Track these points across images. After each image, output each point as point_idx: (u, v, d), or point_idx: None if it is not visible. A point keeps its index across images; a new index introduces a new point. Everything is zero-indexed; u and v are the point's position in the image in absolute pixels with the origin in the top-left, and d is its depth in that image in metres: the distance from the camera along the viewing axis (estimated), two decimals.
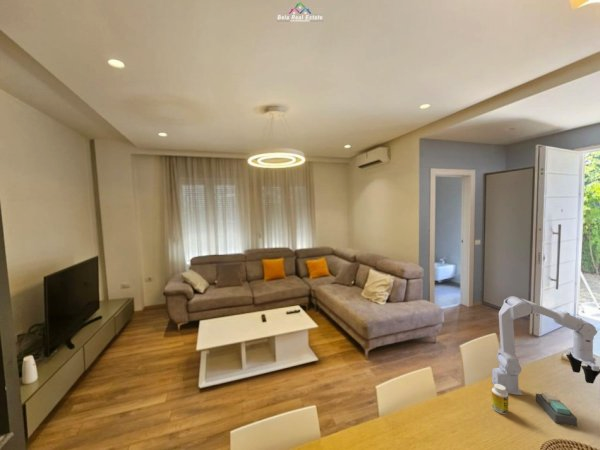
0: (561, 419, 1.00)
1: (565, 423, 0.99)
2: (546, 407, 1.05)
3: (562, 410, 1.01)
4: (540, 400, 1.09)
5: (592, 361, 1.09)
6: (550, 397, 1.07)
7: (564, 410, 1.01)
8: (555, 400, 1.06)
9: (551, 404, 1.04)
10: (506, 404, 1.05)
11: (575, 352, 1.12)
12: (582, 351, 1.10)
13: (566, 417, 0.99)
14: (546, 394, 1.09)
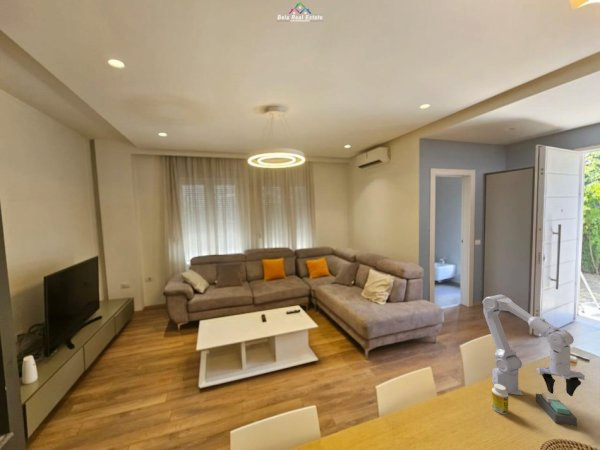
0: (561, 419, 1.00)
1: (565, 423, 0.99)
2: (546, 407, 1.05)
3: (562, 410, 1.01)
4: (540, 400, 1.09)
5: (554, 373, 1.01)
6: (550, 397, 1.07)
7: (564, 410, 1.01)
8: (555, 400, 1.06)
9: (551, 404, 1.04)
10: (506, 404, 1.05)
11: None
12: None
13: (566, 417, 0.99)
14: (546, 394, 1.09)
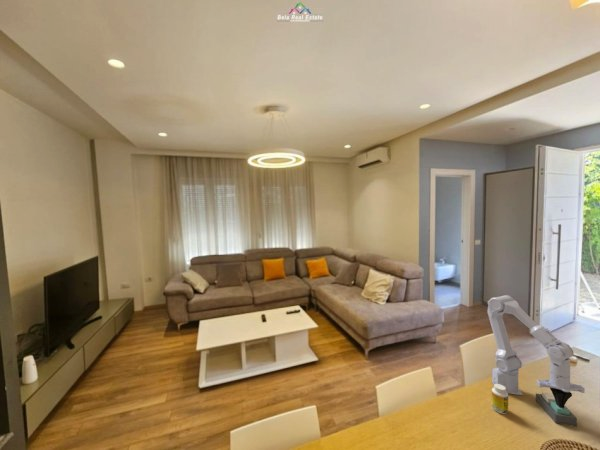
0: (561, 419, 1.00)
1: (565, 423, 0.99)
2: (546, 407, 1.05)
3: (562, 411, 1.01)
4: (540, 400, 1.09)
5: (554, 386, 1.01)
6: (550, 397, 1.07)
7: (564, 411, 1.01)
8: None
9: (551, 404, 1.04)
10: (506, 404, 1.05)
11: None
12: None
13: (566, 417, 0.99)
14: (546, 394, 1.09)
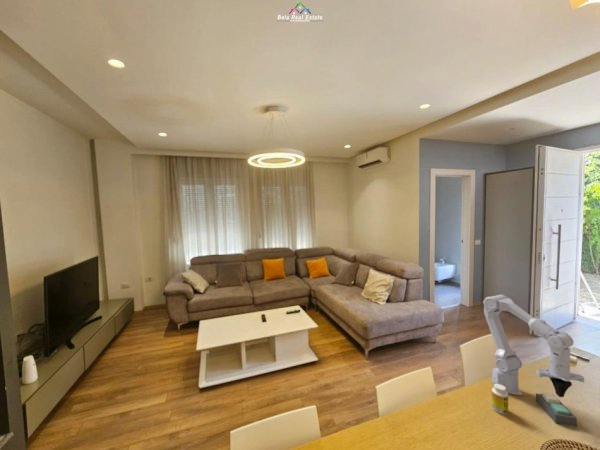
0: (561, 419, 1.00)
1: (565, 423, 0.99)
2: (546, 407, 1.05)
3: (562, 412, 1.01)
4: (540, 400, 1.09)
5: (554, 375, 1.01)
6: (550, 397, 1.07)
7: (564, 412, 1.01)
8: (555, 400, 1.06)
9: (551, 406, 1.04)
10: (506, 404, 1.05)
11: None
12: None
13: (566, 417, 0.99)
14: (546, 394, 1.09)
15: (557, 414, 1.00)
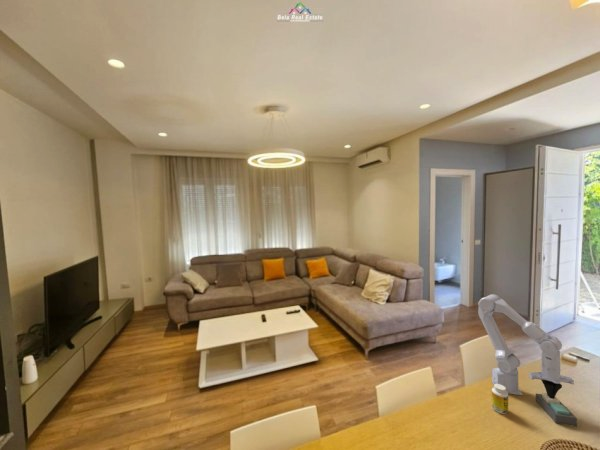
0: (561, 419, 1.00)
1: (565, 423, 0.99)
2: (546, 407, 1.05)
3: (562, 412, 1.01)
4: (540, 400, 1.09)
5: (545, 377, 1.07)
6: (550, 398, 1.07)
7: (564, 412, 1.01)
8: (555, 401, 1.06)
9: (551, 406, 1.04)
10: (506, 404, 1.05)
11: None
12: None
13: (566, 417, 0.99)
14: (546, 395, 1.09)
15: (557, 414, 1.00)
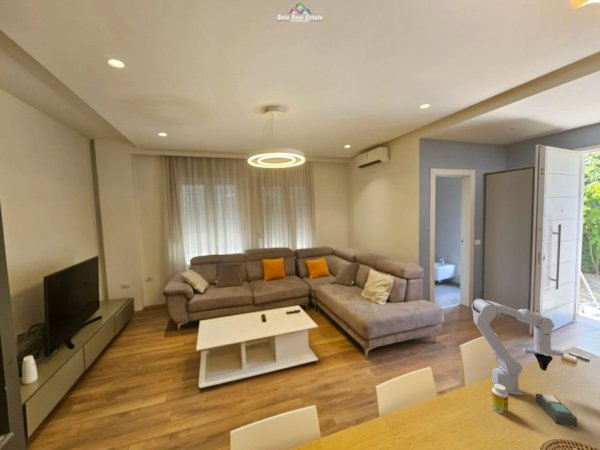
0: (561, 419, 1.00)
1: (565, 423, 0.99)
2: (546, 407, 1.05)
3: (562, 412, 1.01)
4: (540, 400, 1.09)
5: (537, 351, 1.17)
6: (550, 399, 1.07)
7: (564, 412, 1.01)
8: (555, 402, 1.06)
9: (551, 406, 1.04)
10: (506, 404, 1.05)
11: None
12: None
13: (566, 417, 0.99)
14: (546, 396, 1.09)
15: (557, 414, 1.00)
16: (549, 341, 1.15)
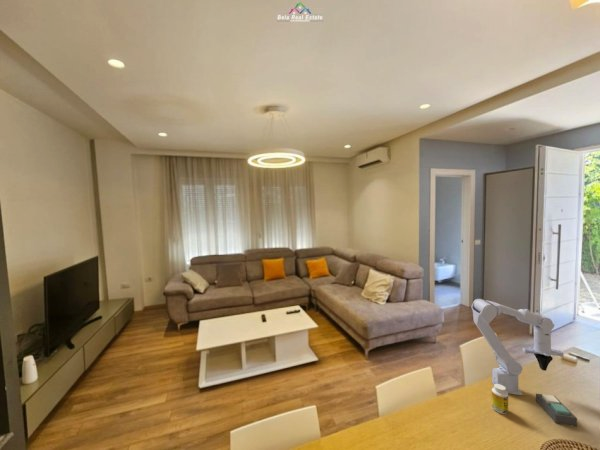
0: (561, 419, 1.00)
1: (565, 423, 0.99)
2: (546, 407, 1.05)
3: (562, 412, 1.01)
4: (540, 400, 1.09)
5: (537, 351, 1.17)
6: (550, 399, 1.07)
7: (564, 412, 1.01)
8: (555, 402, 1.06)
9: (551, 406, 1.04)
10: (506, 404, 1.05)
11: None
12: None
13: (566, 417, 0.99)
14: (546, 396, 1.09)
15: (557, 414, 1.00)
16: (549, 341, 1.15)
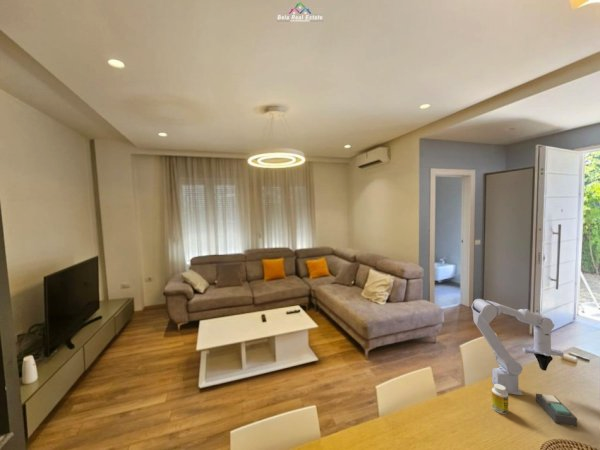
0: (561, 419, 1.00)
1: (565, 423, 0.99)
2: (546, 407, 1.05)
3: (562, 412, 1.01)
4: (540, 400, 1.09)
5: (537, 351, 1.17)
6: (550, 399, 1.07)
7: (564, 412, 1.01)
8: (555, 402, 1.06)
9: (551, 406, 1.04)
10: (506, 404, 1.05)
11: None
12: None
13: (566, 417, 0.99)
14: (546, 396, 1.09)
15: (557, 414, 1.00)
16: (549, 341, 1.15)
